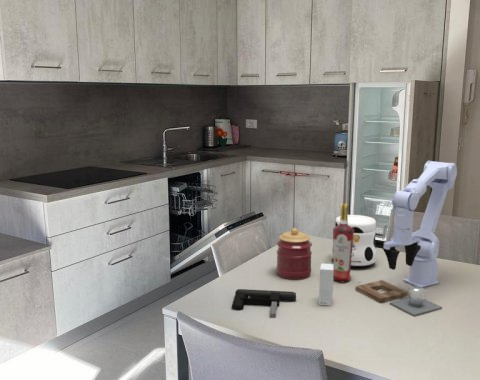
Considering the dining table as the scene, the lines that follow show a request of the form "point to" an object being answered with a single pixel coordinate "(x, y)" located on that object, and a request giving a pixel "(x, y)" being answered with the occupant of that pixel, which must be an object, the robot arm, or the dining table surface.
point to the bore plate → (390, 295)
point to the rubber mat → (415, 311)
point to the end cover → (416, 296)
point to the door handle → (261, 299)
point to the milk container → (362, 240)
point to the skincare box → (326, 284)
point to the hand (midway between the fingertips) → (400, 267)
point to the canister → (294, 255)
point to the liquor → (342, 247)
